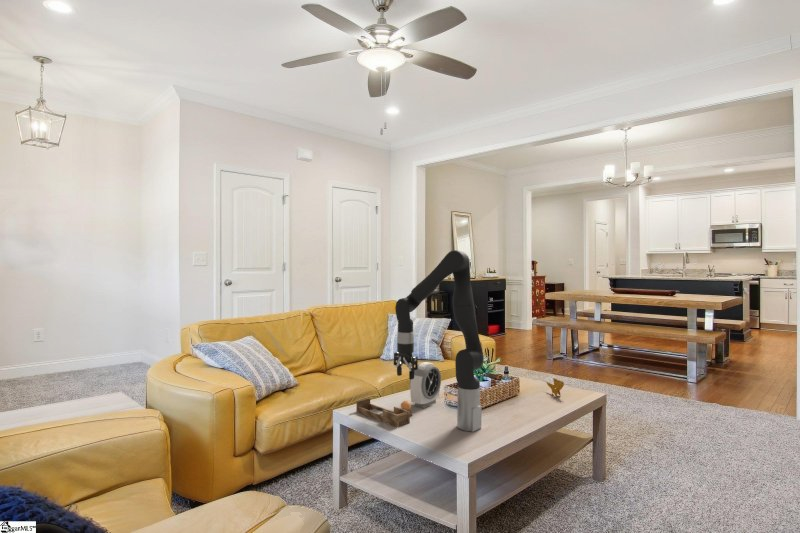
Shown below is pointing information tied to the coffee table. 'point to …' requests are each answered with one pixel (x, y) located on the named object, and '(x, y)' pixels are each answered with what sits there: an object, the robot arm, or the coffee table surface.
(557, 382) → the toy
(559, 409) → the coffee table surface
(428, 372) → the alarm clock
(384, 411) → the lane
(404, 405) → the ball
